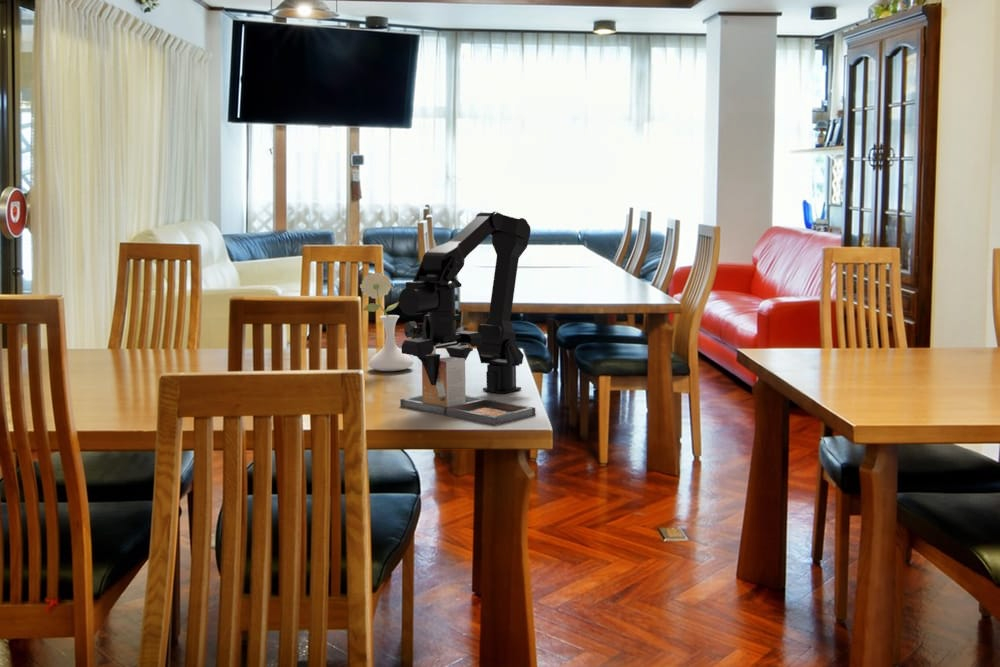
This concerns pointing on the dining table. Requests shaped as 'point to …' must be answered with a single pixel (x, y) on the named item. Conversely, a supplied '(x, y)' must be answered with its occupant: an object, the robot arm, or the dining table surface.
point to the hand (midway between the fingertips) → (443, 383)
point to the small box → (446, 383)
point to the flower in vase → (390, 353)
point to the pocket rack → (476, 415)
